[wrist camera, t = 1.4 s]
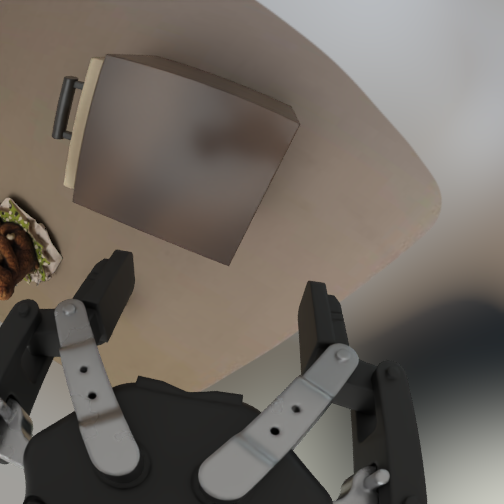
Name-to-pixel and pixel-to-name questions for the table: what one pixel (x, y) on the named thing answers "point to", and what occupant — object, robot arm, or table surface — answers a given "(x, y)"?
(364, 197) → the table surface
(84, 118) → the drawer
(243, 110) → the cabinet
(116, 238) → the table surface
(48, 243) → the bear figurine
